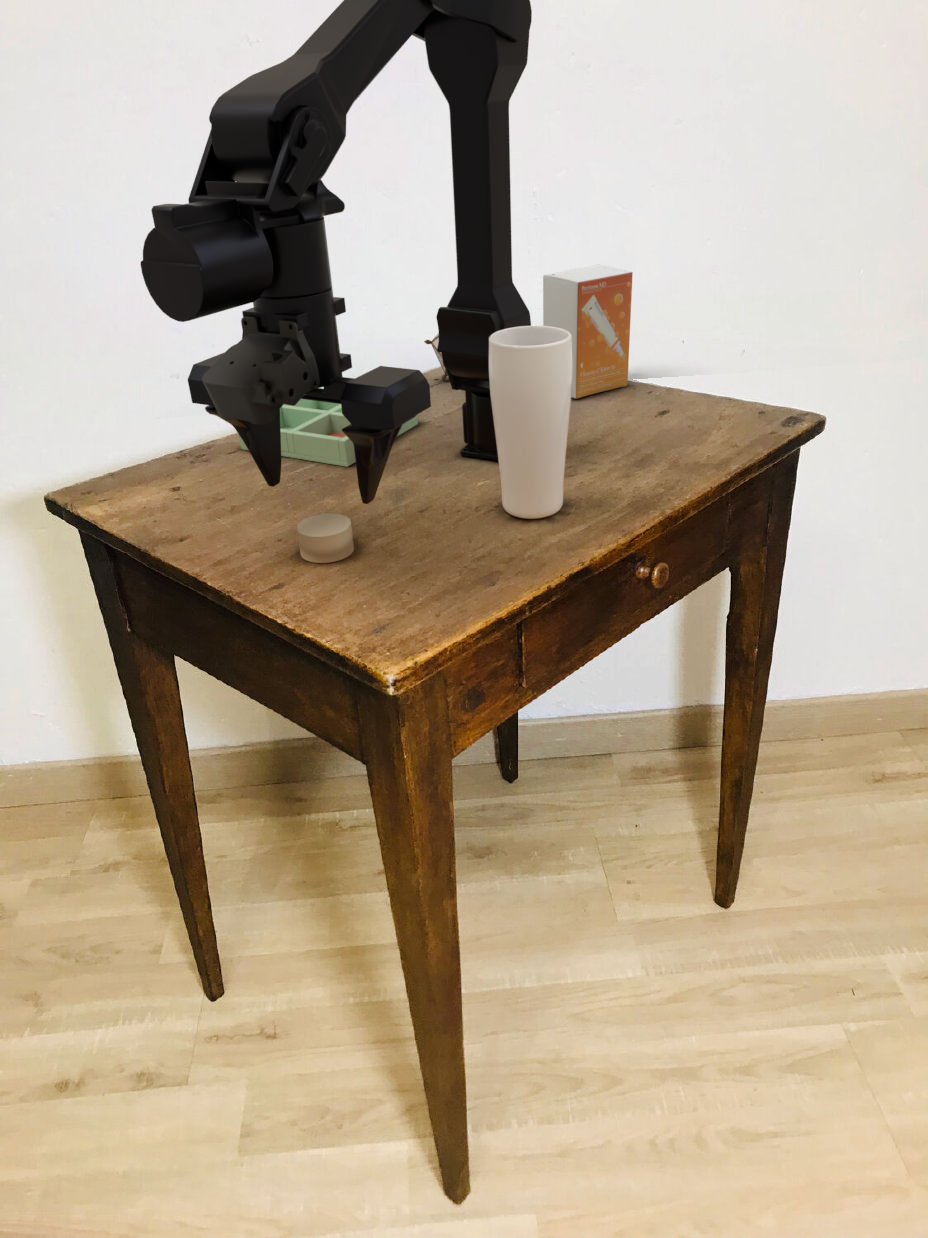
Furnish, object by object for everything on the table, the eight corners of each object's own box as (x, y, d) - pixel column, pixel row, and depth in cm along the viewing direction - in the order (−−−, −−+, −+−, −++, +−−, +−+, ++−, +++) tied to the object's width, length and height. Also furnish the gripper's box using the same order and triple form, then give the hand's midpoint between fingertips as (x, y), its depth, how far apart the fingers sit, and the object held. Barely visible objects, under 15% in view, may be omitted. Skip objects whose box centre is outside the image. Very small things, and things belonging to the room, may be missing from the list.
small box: (576, 400, 108) (577, 281, 102) (542, 388, 113) (541, 273, 106) (629, 386, 112) (634, 270, 105) (594, 374, 117) (596, 263, 110)
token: (364, 544, 79) (361, 518, 77) (333, 567, 75) (330, 540, 74) (321, 535, 81) (318, 509, 79) (289, 557, 77) (285, 530, 76)
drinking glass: (579, 496, 85) (581, 326, 77) (560, 528, 79) (561, 348, 72) (506, 490, 87) (501, 323, 79) (483, 520, 82) (476, 344, 74)
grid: (418, 423, 104) (416, 399, 103) (347, 467, 94) (344, 440, 93) (317, 410, 110) (314, 387, 109) (241, 449, 100) (236, 424, 99)
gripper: (112, 306, 66) (161, 513, 74) (333, 326, 57) (360, 556, 65) (220, 274, 74) (253, 464, 82) (426, 287, 66) (441, 496, 74)
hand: (320, 493), depth 75 cm, fingers open, 9 cm apart
